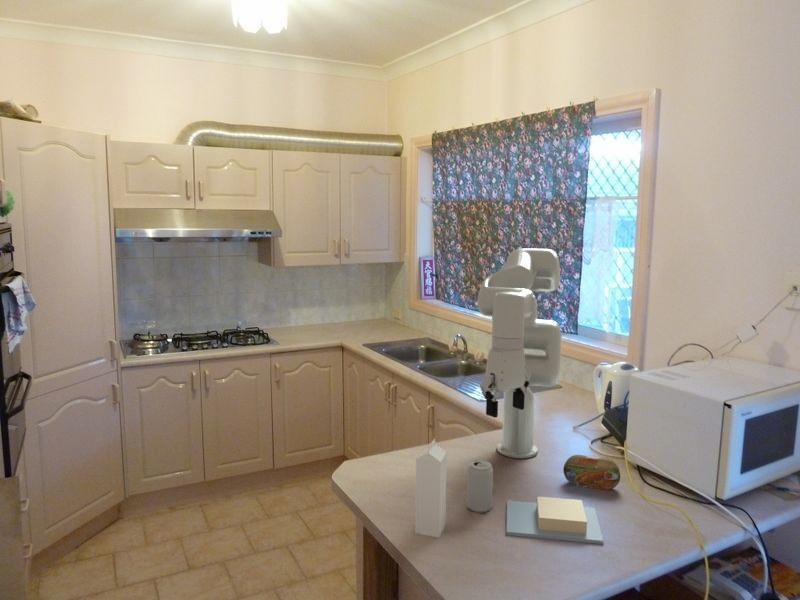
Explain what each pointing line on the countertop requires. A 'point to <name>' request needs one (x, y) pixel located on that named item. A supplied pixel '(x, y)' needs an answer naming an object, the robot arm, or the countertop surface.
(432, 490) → the milk
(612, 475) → the tin
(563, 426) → the countertop surface
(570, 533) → the board
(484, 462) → the beverage can
